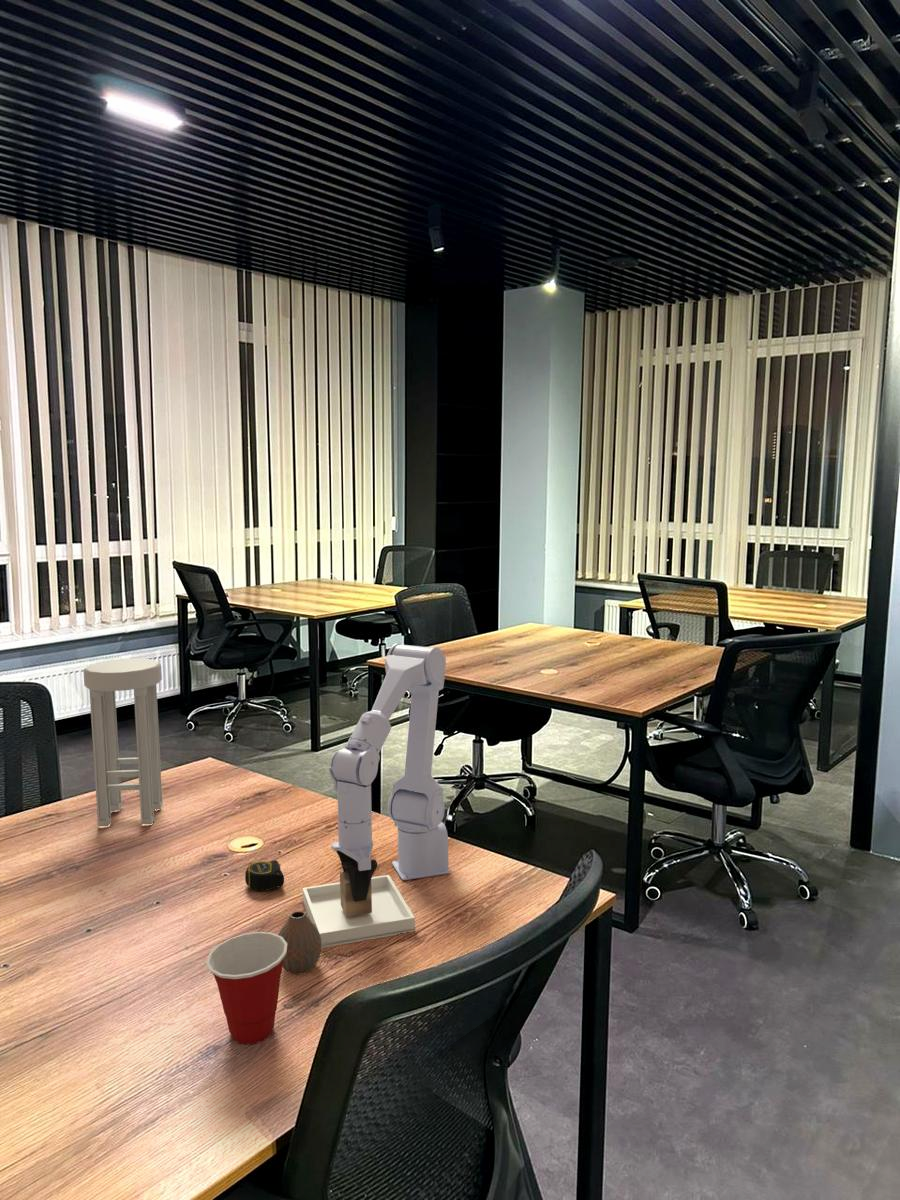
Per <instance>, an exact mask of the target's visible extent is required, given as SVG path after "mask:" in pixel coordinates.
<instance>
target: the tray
mask: <svg viewBox="0 0 900 1200" xmlns="http://www.w3.org/2000/svg"><path fill="white" fill-rule="evenodd" d="M371 893H372V913H366V914H360V915H354V916H349V917H346V915H345V913H344V911H343V909H342V907H341V895H340V881H339V882H332V883H327V884H325V883H324V884H320V885H313V886H307V887H302V902H303V906H304V908H305V911H306V915H307V917H308V918H309V919H310V920H311V921H312V922H313V923H314V925H315V926H316V927H317V929H318V931H319V933H320V937H321V949H324V948H330V947H335V946H342V945H346V944H352V943H357V942H362V941H363V942H365V941H369V940H370V941H371V940H376V939H381V938H387V937H392V936H397V934H399V935H401V934H400V933H404V932H409V931H414V930H415V931H416V917H415V915H414V914H413V912H412V911H411V909H410V907H409V905H408V904H407V902H406V901H405V899H404V897H403V896H402V894H401V892H400V891H399V889H398V887H397V886H396V884H395V883H394V881H393V879H392V877H391V876H390V874H387V875H379V876H372V878H371ZM404 934H405V933H404Z"/></svg>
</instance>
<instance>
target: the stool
mask: <svg viewBox="0 0 900 1200" xmlns="http://www.w3.org/2000/svg"><path fill="white" fill-rule="evenodd" d="M162 679H163V677H162V665H161V662H159V661H157V660H155V659H151V658H138V657H137V658H135V657H134V658H118V659H111V660H110V659H109V660H102V661H100V662H94V663H91V664H89V665H88V666H86V667H84V669H83V685H84V687H85V688H87V689H88V691H89V703H90V704H89V705H90V707H89V708H90V719H91V721H90V722H91V735H92V737H91V739H92V750H93V751H92V752H93V767H94V770H93V771H94V784H95V785H94V786H95V798H96V800H95V801H96V813H97V814H96V815H97V827H98V826H108V825H109V824H110V823H111V824H112V815H111V814H112V813H111V811H115V810H120V809H121V807H122V808H123V806H122V791H139V805H140V820H141V821H140V823H141V824H152V823H153V821H154V822H155V817H154V816H155V815H154V812H155V811H153V810H155V809H156V810H157V809H161V807H162V806H163V787H162V771H161V770H162V769H161V768H162V766H161V752H160V751H161V749H160V747H161V746H160V734H159V733H160V729H159V711H158V694H157V693H158V692H157V685H158V684H159V683H160V682H161V681H162ZM130 690H132V691H133V699H134V718H135V734H136V751H137V753H136V754H137V757H120V755H119V739H118V738H119V737H118V736H119V735H118V721H117V705H116V703H117V702H116V692H117V691H119V692H123V691H125V692H126V691H130ZM132 764H133V765H136V764H137V769H126V770H125V769H122V770H121V769H120V765H132ZM134 777H135V778H136V777H137V778H138V783H137V782H136V783H133V782H132V783H121V778H134ZM163 807H164V806H163ZM163 807H162V808H163ZM121 810H122V809H121ZM161 810H162V809H161ZM153 824H154V823H153Z"/></svg>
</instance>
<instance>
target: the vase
mask: <svg viewBox="0 0 900 1200" xmlns="http://www.w3.org/2000/svg"><path fill="white" fill-rule="evenodd" d="M278 935H279V936H281V937H283V939H284V940H285V941H286V943H287V951H286V956H285V957H284V961H283V966H282V969H283V970H285V971H286V972H288V973H289V974H293V975H303V974H307V973H308V972H310V971H311V970H312V969H313V968H315V966H316V965H317V964H318V962H319V959H320V957H321V953H322V948H321V937H320V933H319V931H318V929H317V927H316V926H315V925H314V923H313V922H312V921H311V920H310V919H309V917H308V914H307V912H305V911H303V910H296V911H295V910H294V911H293V912H291V913H290V914H289V917H288V918H287V921H286V922H285V923H284V924H283V925H282V927H281V928H280V930H279V933H278Z"/></svg>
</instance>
